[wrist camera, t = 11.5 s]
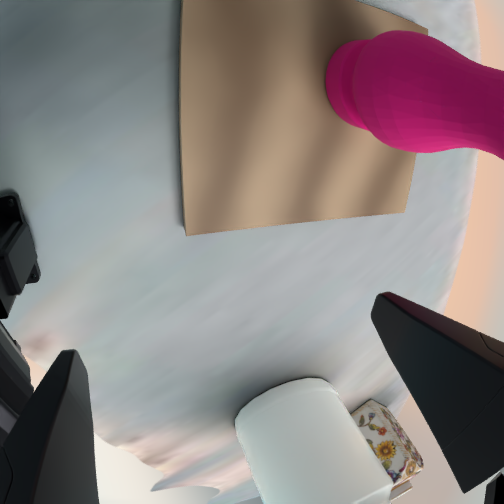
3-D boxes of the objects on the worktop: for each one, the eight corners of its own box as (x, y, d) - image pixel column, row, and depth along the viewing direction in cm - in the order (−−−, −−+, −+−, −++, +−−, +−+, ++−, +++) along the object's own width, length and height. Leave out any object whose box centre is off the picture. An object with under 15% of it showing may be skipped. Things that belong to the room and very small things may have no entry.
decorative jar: (388, 407, 52) (434, 473, 37) (341, 440, 53) (381, 508, 39) (370, 396, 45) (426, 478, 30) (315, 435, 47) (360, 518, 32)
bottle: (214, 410, 32) (303, 626, 10) (323, 358, 33) (452, 559, 11) (253, 443, 41) (324, 597, 18) (336, 403, 42) (426, 549, 19)
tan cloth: (184, 227, 20) (186, 235, 19) (182, -19, 12) (185, -26, 11) (395, 206, 25) (404, 212, 25) (417, 29, 17) (427, 29, 16)
